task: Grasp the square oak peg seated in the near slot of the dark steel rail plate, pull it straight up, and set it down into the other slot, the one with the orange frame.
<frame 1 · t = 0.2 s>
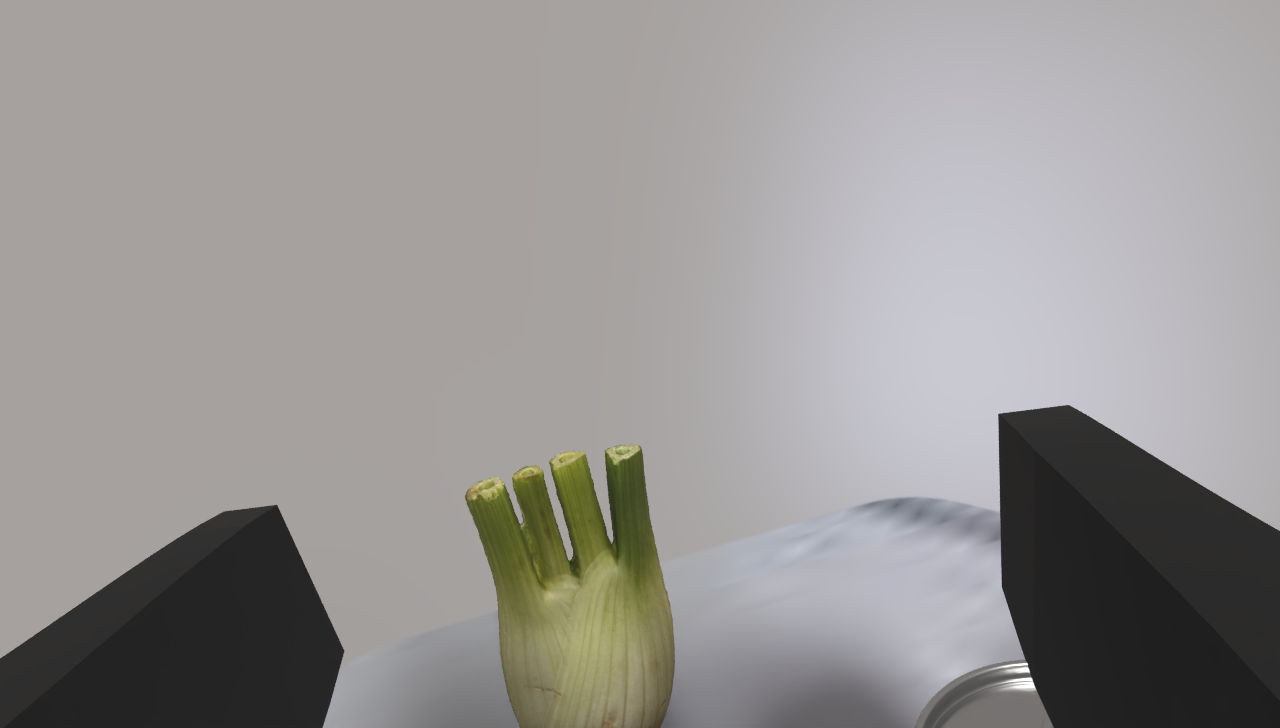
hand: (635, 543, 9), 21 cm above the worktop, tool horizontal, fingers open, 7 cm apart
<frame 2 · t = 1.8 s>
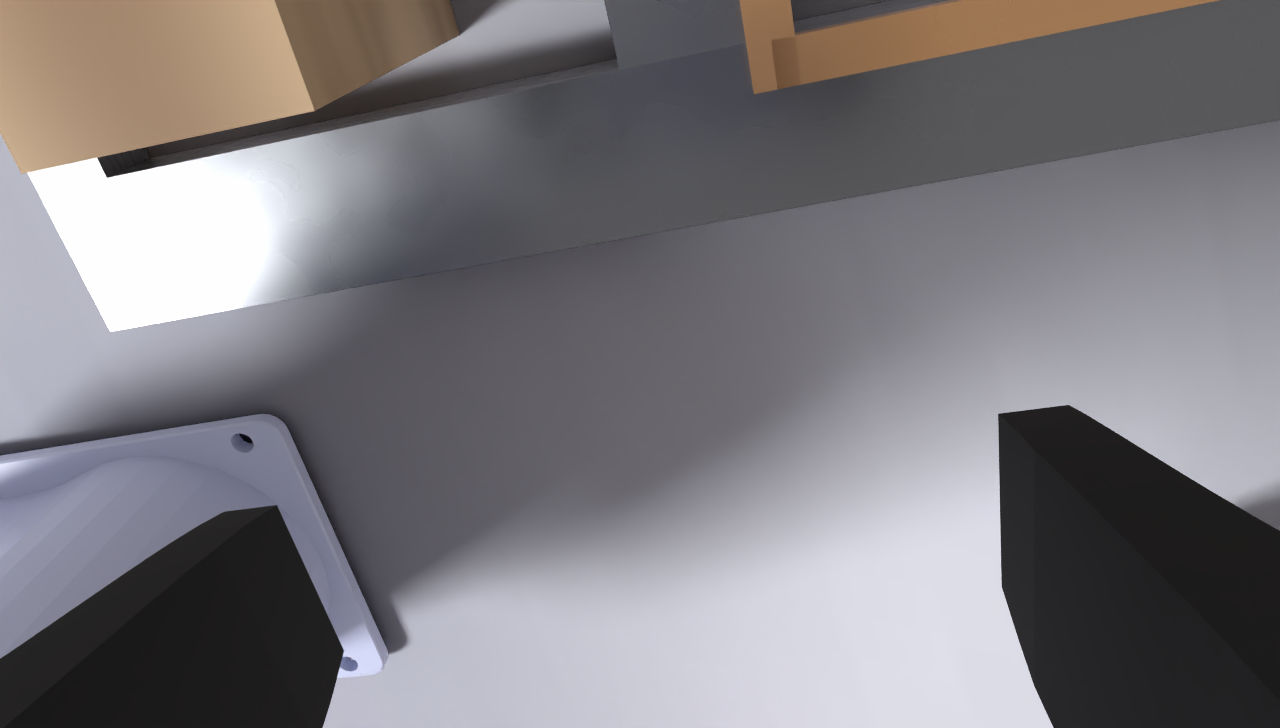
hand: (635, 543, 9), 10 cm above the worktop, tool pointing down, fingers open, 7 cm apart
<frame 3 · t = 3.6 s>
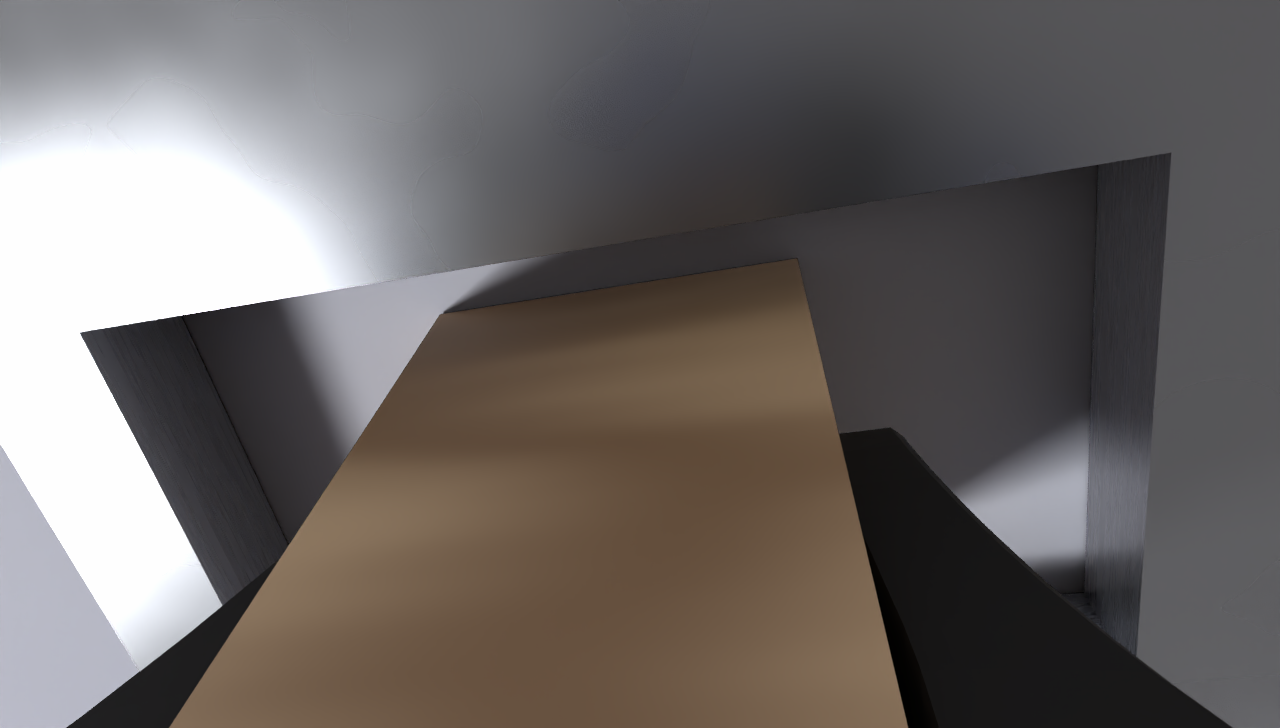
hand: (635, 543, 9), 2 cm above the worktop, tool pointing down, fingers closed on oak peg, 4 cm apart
oak peg: (647, 440, 11), resting in rail plate, touching gripper
rail plate: (1238, 366, 10), on the worktop
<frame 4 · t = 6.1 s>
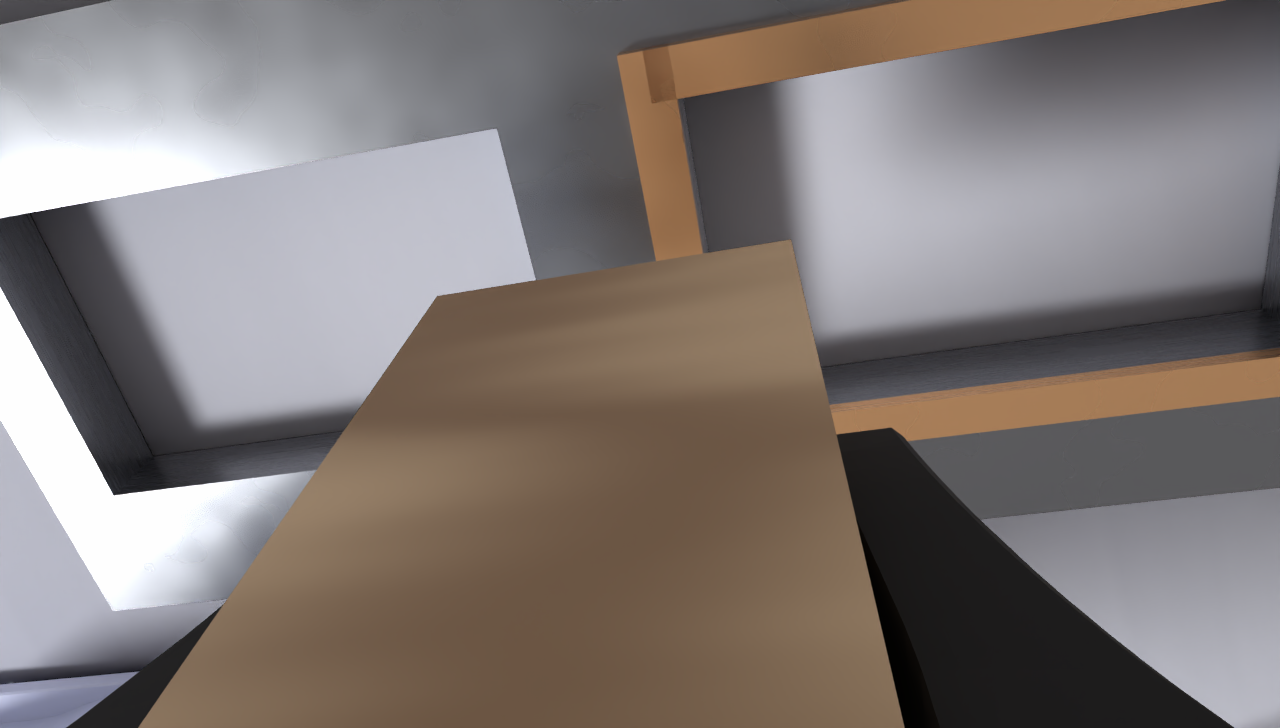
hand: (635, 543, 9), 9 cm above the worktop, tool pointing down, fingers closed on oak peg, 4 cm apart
oak peg: (643, 422, 11), point 7 cm above the worktop, touching gripper
rail plate: (628, 253, 17), on the worktop
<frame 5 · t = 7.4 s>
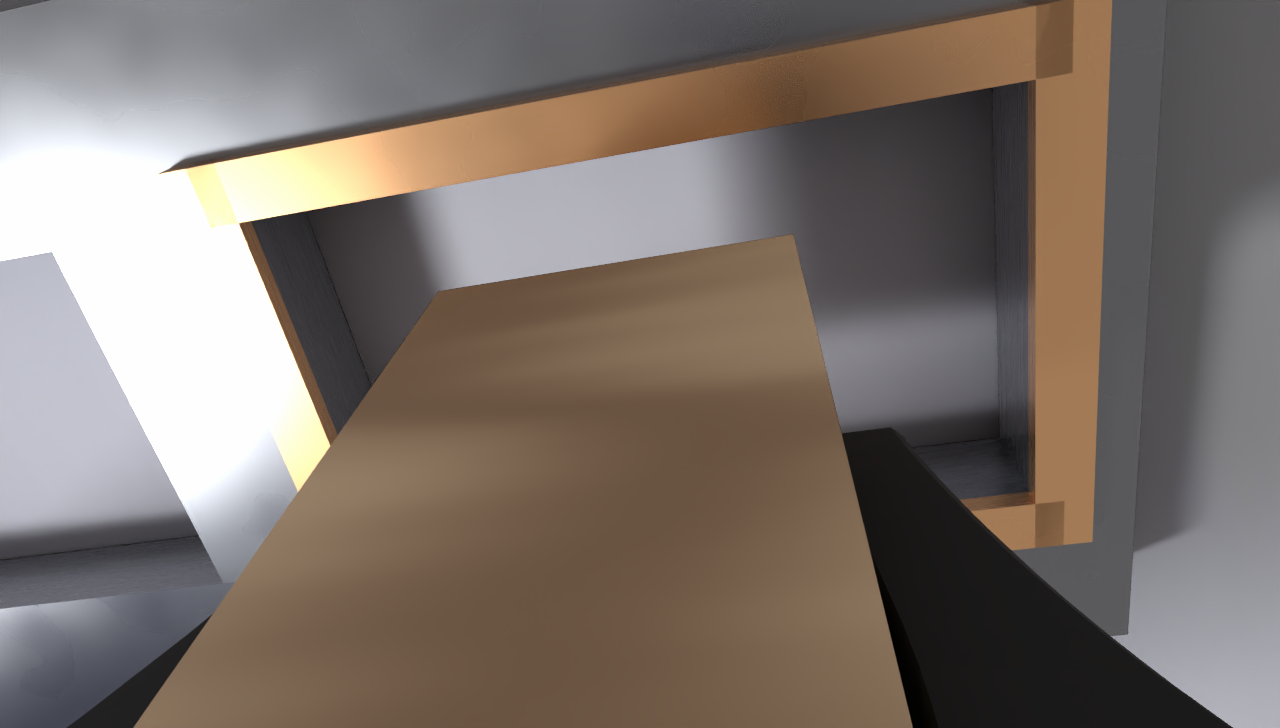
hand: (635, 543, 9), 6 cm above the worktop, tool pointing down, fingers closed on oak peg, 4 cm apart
oak peg: (645, 418, 11), point 3 cm above the worktop, touching gripper
rail plate: (277, 374, 15), on the worktop
when the fingers open (3 cm above the worktop, at t = 8.4 s): oak peg stays where it is, resting in rail plate.
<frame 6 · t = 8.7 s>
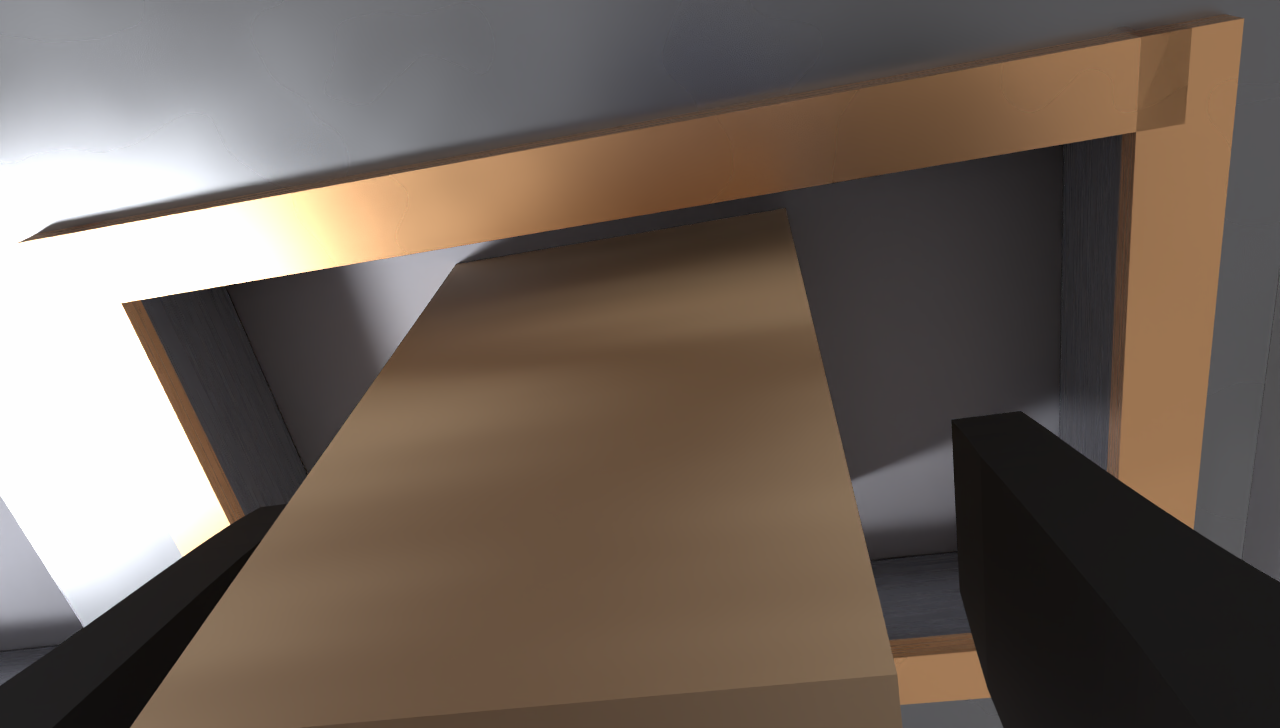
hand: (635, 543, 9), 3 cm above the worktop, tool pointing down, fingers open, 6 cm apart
oak peg: (648, 383, 11), resting in rail plate
rail plate: (196, 462, 13), on the worktop
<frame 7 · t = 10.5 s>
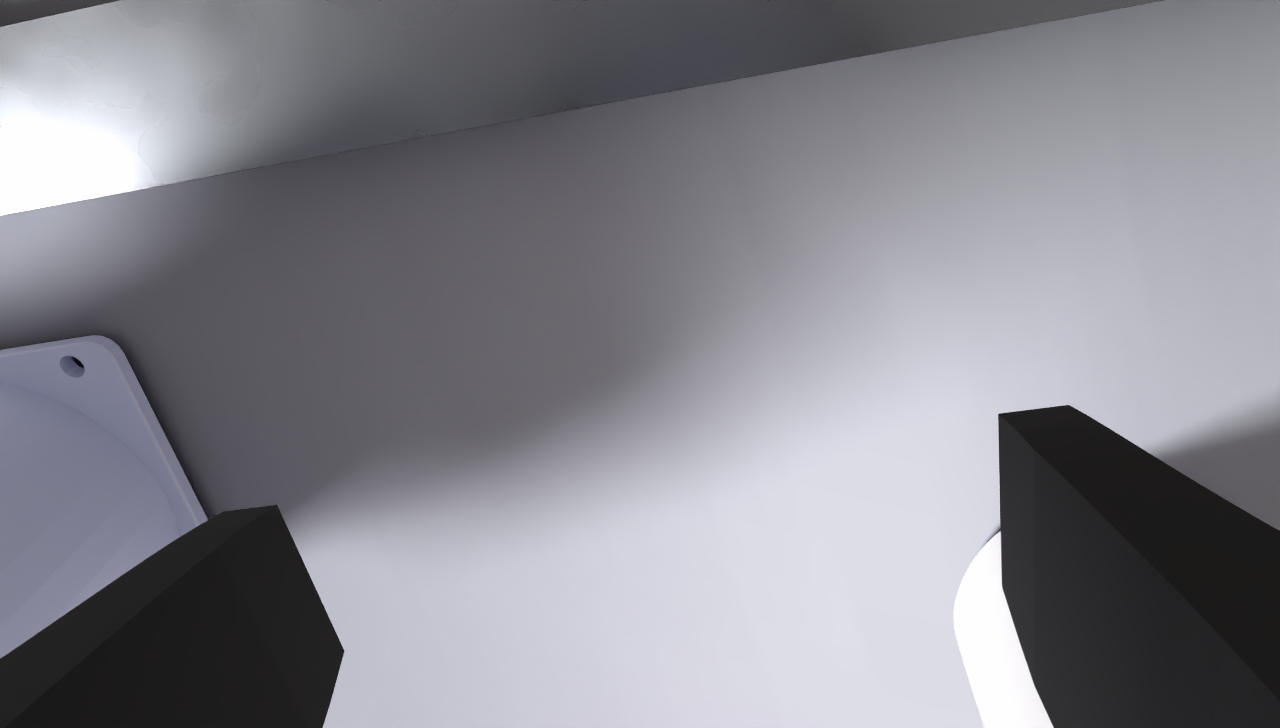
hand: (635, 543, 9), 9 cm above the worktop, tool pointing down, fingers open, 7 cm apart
can: (1089, 587, 21), on the worktop
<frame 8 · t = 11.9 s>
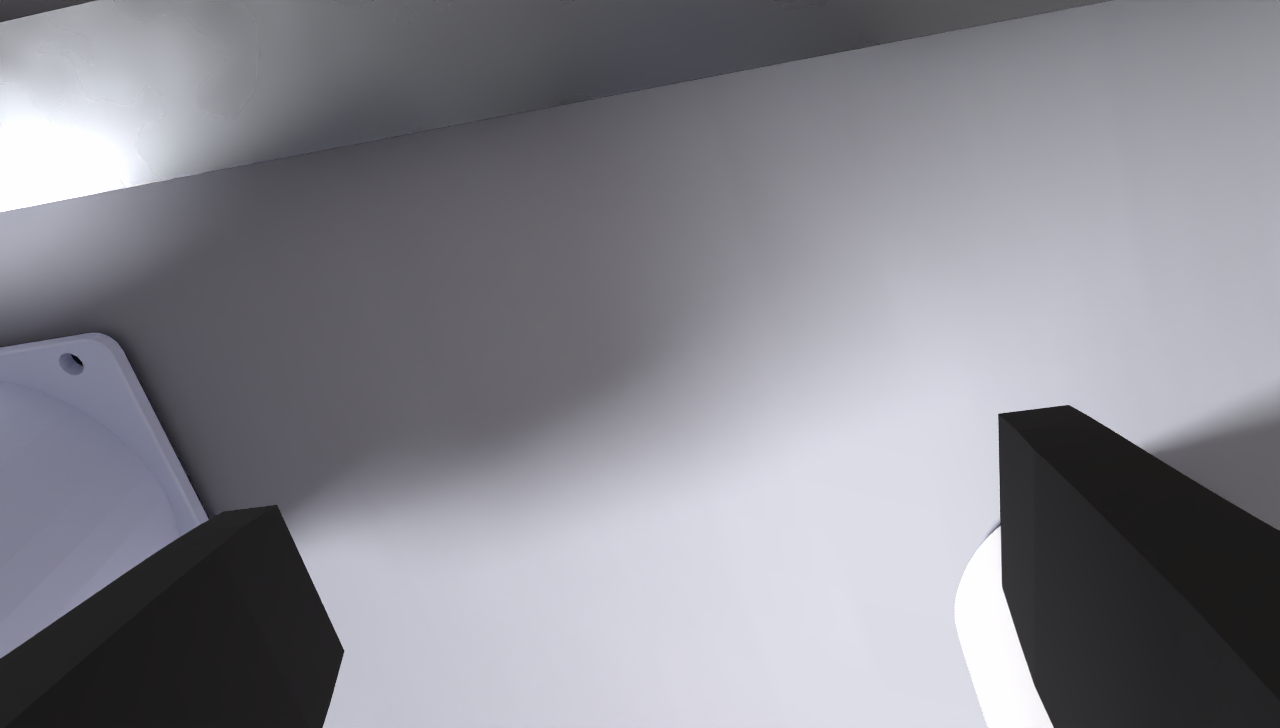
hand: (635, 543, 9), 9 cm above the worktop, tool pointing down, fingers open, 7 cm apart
can: (1090, 581, 21), on the worktop
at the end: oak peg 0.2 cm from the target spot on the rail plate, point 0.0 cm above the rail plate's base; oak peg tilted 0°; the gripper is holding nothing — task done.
